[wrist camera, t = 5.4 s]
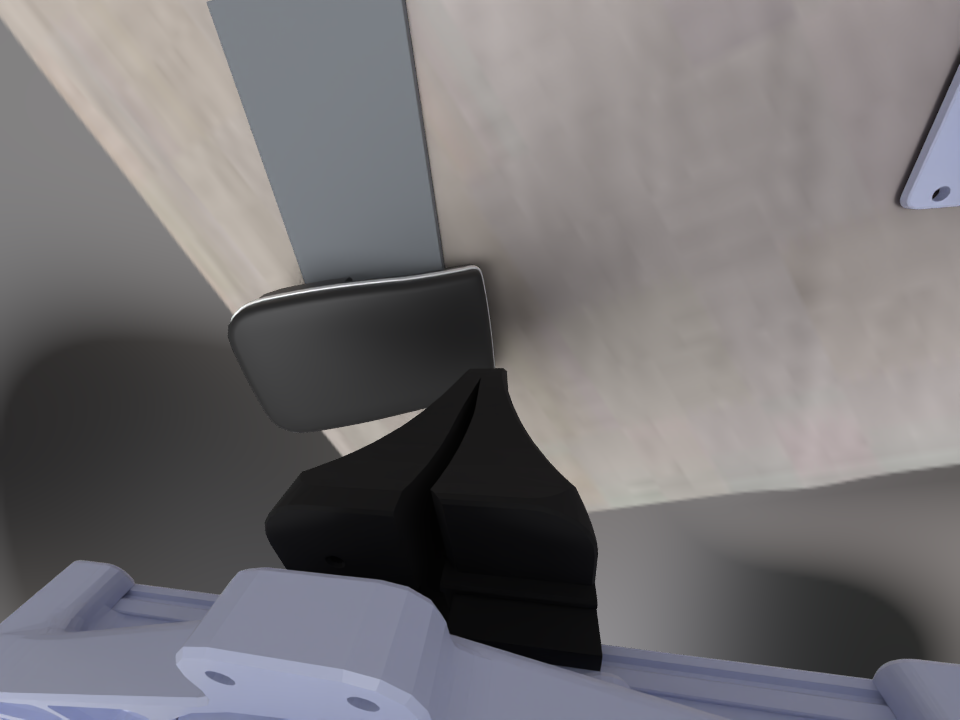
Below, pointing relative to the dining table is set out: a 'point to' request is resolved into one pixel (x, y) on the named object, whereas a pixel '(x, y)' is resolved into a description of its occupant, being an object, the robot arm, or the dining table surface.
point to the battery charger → (362, 346)
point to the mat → (337, 131)
